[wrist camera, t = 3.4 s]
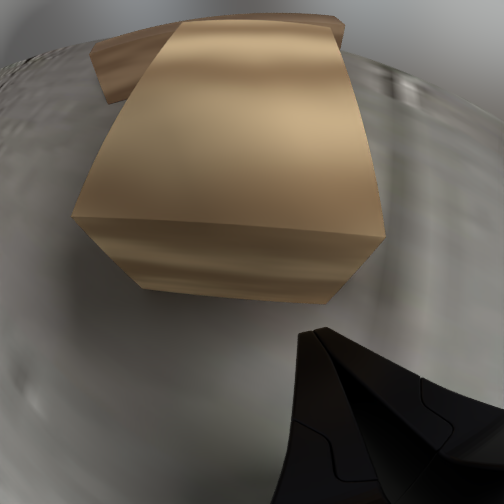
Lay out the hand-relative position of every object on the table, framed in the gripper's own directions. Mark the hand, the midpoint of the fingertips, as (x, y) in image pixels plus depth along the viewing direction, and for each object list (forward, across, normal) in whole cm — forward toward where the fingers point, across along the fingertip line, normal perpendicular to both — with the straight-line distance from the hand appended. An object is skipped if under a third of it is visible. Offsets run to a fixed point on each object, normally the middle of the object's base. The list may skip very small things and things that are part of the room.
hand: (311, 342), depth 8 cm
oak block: (+13, 0, -3) cm, 13 cm away
